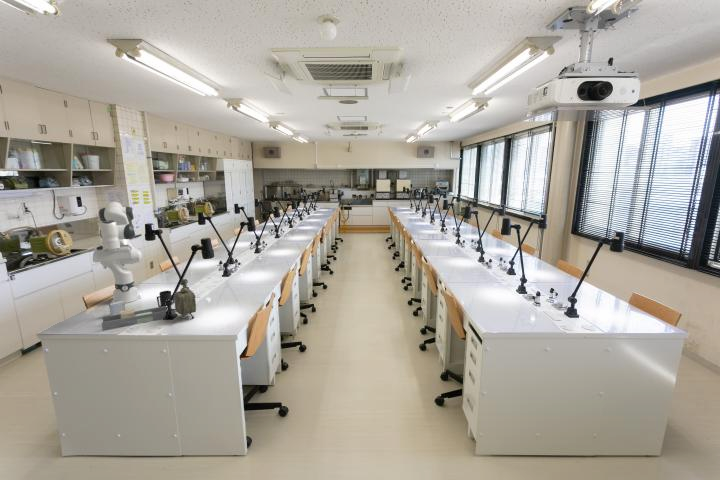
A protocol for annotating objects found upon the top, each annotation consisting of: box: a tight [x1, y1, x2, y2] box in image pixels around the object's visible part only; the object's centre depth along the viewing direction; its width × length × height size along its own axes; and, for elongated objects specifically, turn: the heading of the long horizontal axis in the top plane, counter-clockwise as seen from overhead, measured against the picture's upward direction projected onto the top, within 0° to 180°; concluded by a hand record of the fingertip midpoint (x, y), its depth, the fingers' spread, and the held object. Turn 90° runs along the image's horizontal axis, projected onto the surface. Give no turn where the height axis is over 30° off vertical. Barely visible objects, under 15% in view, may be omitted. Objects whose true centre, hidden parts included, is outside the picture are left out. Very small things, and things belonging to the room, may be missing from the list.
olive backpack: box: [173, 280, 197, 319], centre depth 219 cm, size 14×9×25 cm, turn 44°
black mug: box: [156, 290, 172, 307], centre depth 235 cm, size 10×7×12 cm
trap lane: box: [101, 306, 167, 331], centre depth 214 cm, size 10×35×5 cm, turn 126°
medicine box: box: [108, 301, 127, 316], centre depth 224 cm, size 8×4×9 cm, turn 141°
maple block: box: [121, 308, 135, 319], centre depth 211 cm, size 5×7×4 cm
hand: (114, 267), depth 211 cm, fingers open, 8 cm apart
